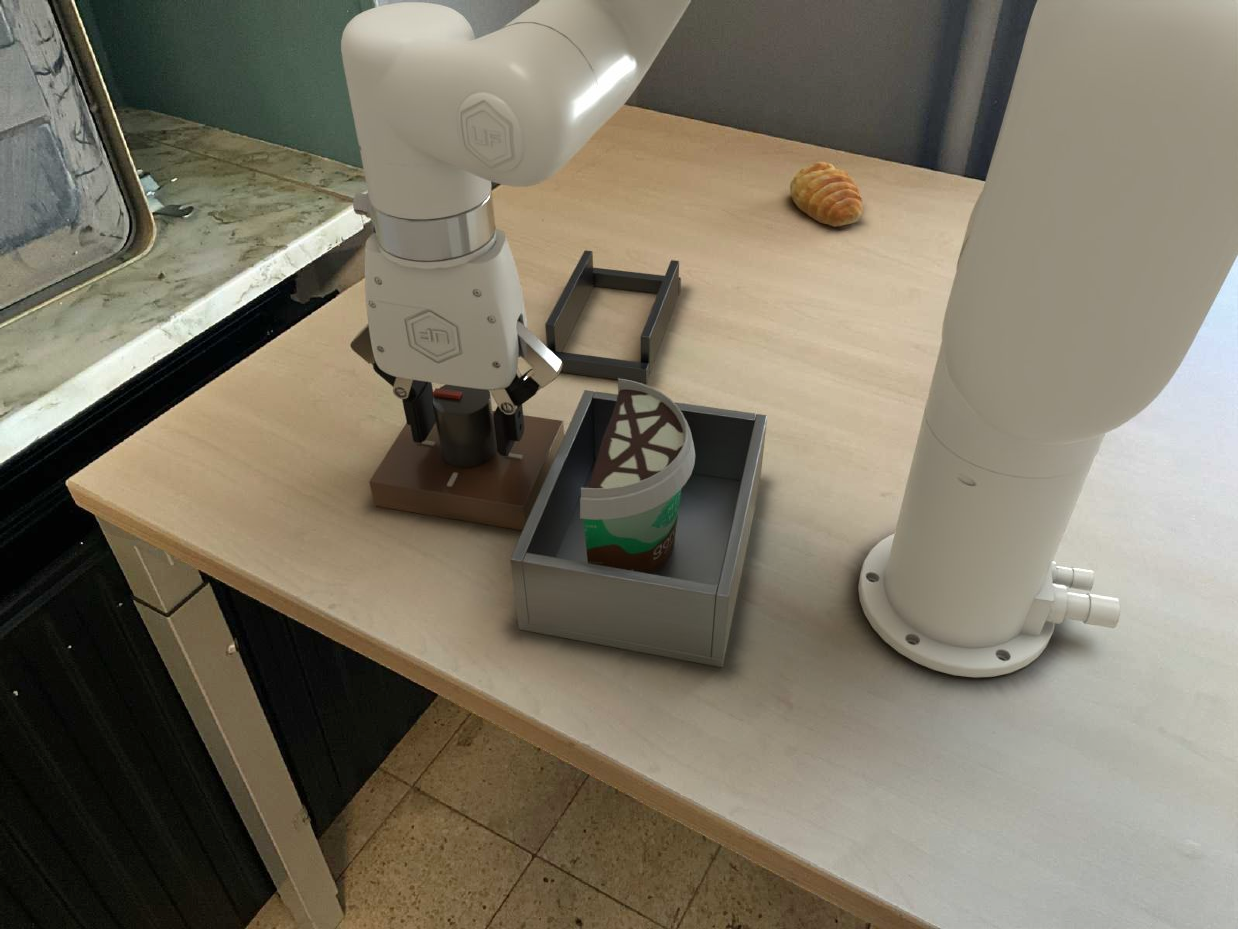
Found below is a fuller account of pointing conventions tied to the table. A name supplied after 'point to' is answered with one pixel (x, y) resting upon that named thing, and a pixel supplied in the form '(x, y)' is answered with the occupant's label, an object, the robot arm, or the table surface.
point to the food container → (637, 481)
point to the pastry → (827, 194)
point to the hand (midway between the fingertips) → (467, 436)
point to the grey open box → (694, 573)
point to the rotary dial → (468, 477)
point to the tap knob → (464, 425)
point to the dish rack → (589, 277)
